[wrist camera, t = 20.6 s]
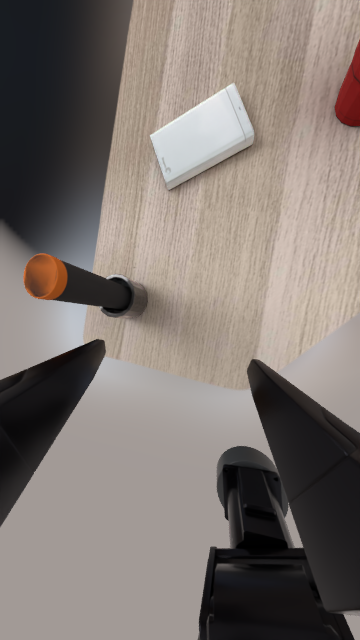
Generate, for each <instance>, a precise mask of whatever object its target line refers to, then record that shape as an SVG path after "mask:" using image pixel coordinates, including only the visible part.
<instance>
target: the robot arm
mask: <svg viewBox="0 0 360 640" xmlns="http://www.w3.org/2000/svg"><path fill="white" fill-rule="evenodd" d="M105 353H106V349H105V342H104V340H99V339H96V340H94V341H91V342H89V343H87V344H84V345H82V346H80V347H77V348H75V349H73V350H70V351H68V352H66V353H63V354H61V355H59V356H56V357H54V358H51V359H50V360H47V361H45V362H42V363H40V364H37V365H35V366H33V367H30V368H28V369H26V370H24V371H21V372H19V373H17V374H14V375H11V376H9V377H7V378H4V379H2V380H0V526H1V525H2V524H3V522H4V520H5V519H6V517H7V515H8V514H9V512H10V511H11V509H12V508H13V506H14V504H15V503H16V501H17V500H18V498H19V497H20V495H21V493H22V492H23V490H24V488H25V487H26V485H27V484H28V482H29V481H30V479H31V477H32V475H33V474H34V472H35V471H36V469H37V468H38V466H39V464H40V463H41V461H42V460H43V458H44V456H45V455H46V453H47V452H48V450H49V448H50V447H51V445H52V444H53V442H54V440H55V439H56V437H57V436H58V434H59V432H60V431H61V429H62V427H63V426H64V424H65V423H66V421H67V420H68V418H69V416H70V414H71V413H72V412H73V410H74V409H75V407H76V405H77V404H78V402H79V401H80V399H81V397H82V396H83V394H84V393H85V391H86V389H87V388H88V386H89V384H90V383H91V381H92V380H93V378H94V376H95V374H96V372H97V370H98V368H99V366H100V364H101V362H102V360H103V358H104V356H105ZM247 374H248V379H249V383H250V387H251V391H252V396H253V399H254V402H255V405H256V408H257V411H258V414H259V417H260V420H261V423H262V426H263V429H264V432H265V435H266V438H267V440H268V443H269V447H270V450H271V452H272V455H273V458H274V461H275V464H276V467H277V470H278V473H279V474H278V473H277V472H274V471H268V470H261V469H255V468H248V467H242V466H235V465H229V464H224V465H223V466H222V474H223V492H224V510H225V518H226V519H227V520H228V521H229V533H230V548H217V547H210V553H209V559H208V564H207V571H206V577H205V584H204V590H203V597H202V604H201V610H200V617H199V636H198V640H354V637H353V635H352V633H351V631H350V628H349V626H348V624H347V622H346V619H345V617H344V615H343V614H346V615H355V616H360V433H359V432H357V431H356V430H354V429H353V428H351V427H350V426H349V425H347V424H346V423H344V422H342V421H341V420H340V419H339V418H337V417H336V416H335V415H333V414H332V413H330V412H329V411H328V410H326V409H325V408H324V407H322V406H321V405H320V404H318V403H317V402H315V401H314V400H313V399H311V398H310V397H309V396H307V395H306V394H305V393H303V392H302V391H300V390H299V389H298V388H297V387H295V386H294V385H292V384H291V383H290V382H288V381H287V380H286V379H284V378H283V377H282V376H280V375H279V374H278V373H276V372H275V371H274V370H272V369H271V368H270V367H268V366H267V365H266V364H264V363H263V362H261V361H260V360H257V359H252V360H251V362H250V364H249V366H248V369H247ZM225 469H228V470H225ZM274 477H277V478H274ZM281 482H282V485H283V488H284V491H285V494H286V497H287V500H288V502H289V506H290V509H291V512H292V515H293V518H294V520H295V524H296V526H297V530H298V532H299V535H300V538H301V541H302V544H303V547H304V548H295V547H294V545H293V541H292V539H291V536H290V533H289V530H288V527H287V524H286V521H285V519H284V516H283V507H282V492H281Z"/></svg>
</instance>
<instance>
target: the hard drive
mask: <svg viewBox="0 0 360 640" xmlns="http://www.w3.org/2000/svg"><path fill="white" fill-rule="evenodd" d="M150 138H151V141H152V144H153V147H154V150H155V153H156V156H157V159H158V162H159V165H160V168H161V171H162V174H163V177H164V180H165V183H166V186H167V188H168V190H170V189H172V188H174V187H176V186H177V185H179V184H181V183H183V182H185V181H186V180H188V179H190V178H192V177H194V176H196V175H198V174H199V173H201V172H203V171H205V170H207V169H208V168H210V167H212V166H214V165H216V164H217V163H219V162H221V161H223V160H225V159H227V158H228V157H230V156H232V155H234V154H236V153H237V152H239V151H241V150H243V149H245V148H247V147H249V146H250V145H252V144H253V140H254V130H253V127H252V125H251V122H250V120H249V117H248V115H247V113H246V110H245V108H244V105H243V103H242V100H241V98H240V96H239V93H238V91H237V89H236V86H235V84H234V83H232V84H230V85H229V86H227V87H226V88H224V89H222V90H221V91H219V92H218V93H216V94H215V95H213V96H211V97H210V98H208V99H207V100H205V101H203V102H202V103H200V104H199V105H197V106H195V107H194V108H192V109H191V110H189V111H187V112H186V113H184V114H183V115H181V116H180V117H178V118H177V119H175V120H174V121H172V122H170V123H169V124H167V125H166V126H164V127H162V128H161V129H159V130H158V131H156V132H155V133H153V134H152V135H150Z"/></svg>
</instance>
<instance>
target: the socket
mask: <svg viewBox="0 0 360 640" xmlns="http://www.w3.org/2000/svg"><path fill="white" fill-rule="evenodd" d="M106 279H108V280H111V281H113V282H116V283H118V284H121V285H123V286H126V287H128V288H131V292H132V297H131V302H130V304H129V306H128V308H127V309H126V310H122V309H115V308H107V307H100V306H99V308H100V309H101V311H102V312H103V313H104V314H106V315H107V316H109V317H115V318H135V317H137V316H139V315H141V314H142V313H143V311H144V310H145V308H146V306H147V302H148V297H147V292H146V290H145V289H144V287H143V286H142V285H141V284H139V283H137V282H136V281H134V280H132V279H130V278H128V277H126V276H124V275H120V274H113V275H110V276H107V277H106Z"/></svg>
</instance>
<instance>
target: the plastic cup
mask: <svg viewBox="0 0 360 640" xmlns="http://www.w3.org/2000/svg"><path fill="white" fill-rule="evenodd" d="M335 112H336V116H337V117H338V119H339V120H340V121H341V122H342V123H344V124H347V125H350V126H360V40H359V43H358V45H357V48H356V50H355V53H354V57H353V60H352V62H351V65H350V67H349V69H348V72H347V74H346V77H345V79H344V81H343V84H342V86H341V89H340V92H339V95H338V98H337V102H336V105H335Z"/></svg>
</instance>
